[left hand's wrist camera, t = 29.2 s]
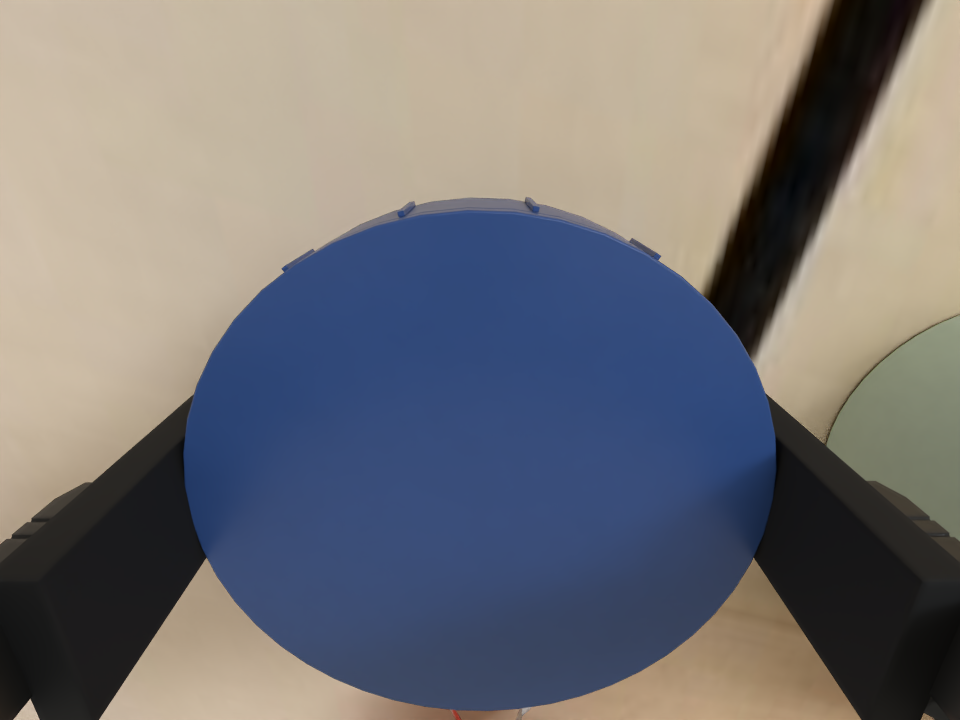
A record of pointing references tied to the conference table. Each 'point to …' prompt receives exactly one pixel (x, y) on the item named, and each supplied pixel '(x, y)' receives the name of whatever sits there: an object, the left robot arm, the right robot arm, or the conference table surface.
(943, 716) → the right robot arm
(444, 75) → the conference table surface
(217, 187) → the conference table surface
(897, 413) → the jar
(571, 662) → the lid
